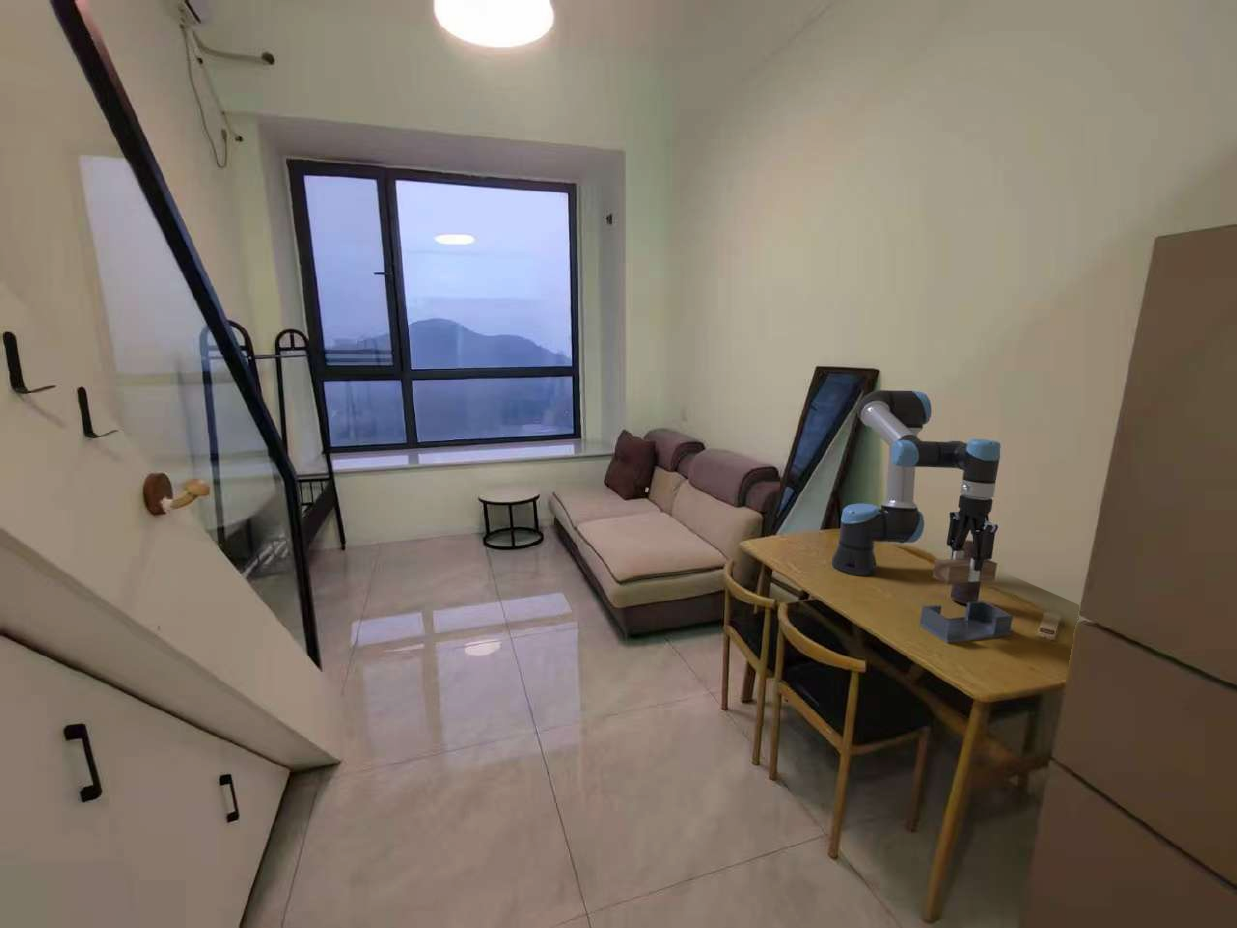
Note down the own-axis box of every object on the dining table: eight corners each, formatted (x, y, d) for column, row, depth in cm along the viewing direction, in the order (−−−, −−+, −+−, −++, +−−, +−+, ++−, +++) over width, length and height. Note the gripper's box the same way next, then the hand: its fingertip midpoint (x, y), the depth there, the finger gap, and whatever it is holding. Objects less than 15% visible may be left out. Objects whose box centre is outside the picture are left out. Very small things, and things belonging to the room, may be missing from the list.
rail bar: (932, 577, 149) (935, 560, 148) (978, 573, 153) (981, 557, 152) (947, 584, 144) (950, 566, 143) (994, 580, 148) (997, 563, 147)
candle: (963, 608, 164) (974, 547, 160) (943, 598, 171) (953, 539, 166) (983, 606, 166) (993, 545, 162) (962, 595, 173) (972, 537, 169)
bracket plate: (919, 624, 153) (921, 605, 152) (979, 618, 158) (982, 599, 156) (947, 643, 143) (950, 622, 142) (1010, 635, 148) (1013, 616, 147)
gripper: (938, 489, 152) (928, 565, 157) (994, 505, 135) (980, 591, 139) (960, 488, 154) (949, 564, 158) (1018, 504, 136) (1004, 589, 141)
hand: (964, 576), depth 149 cm, fingers closed on rail bar, 5 cm apart
